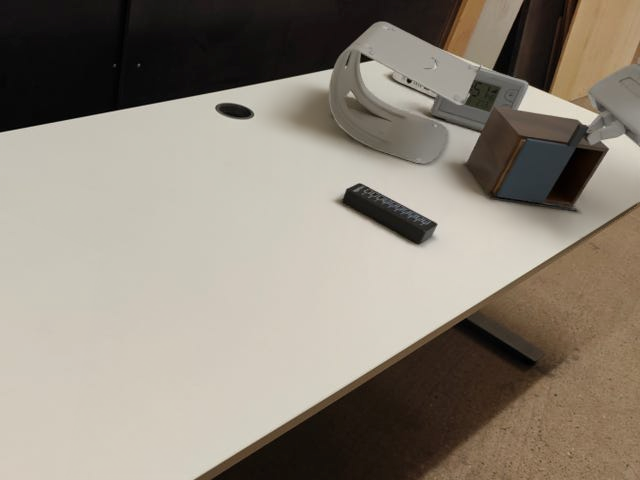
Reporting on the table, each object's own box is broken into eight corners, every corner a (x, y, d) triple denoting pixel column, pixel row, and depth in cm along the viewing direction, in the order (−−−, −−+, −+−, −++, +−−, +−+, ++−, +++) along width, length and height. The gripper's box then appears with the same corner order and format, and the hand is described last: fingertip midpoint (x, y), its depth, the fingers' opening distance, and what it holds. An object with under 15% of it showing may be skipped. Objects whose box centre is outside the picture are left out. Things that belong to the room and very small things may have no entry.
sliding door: (543, 203, 117) (589, 127, 108) (498, 197, 116) (540, 119, 107) (541, 201, 118) (586, 124, 108) (495, 194, 117) (537, 117, 108)
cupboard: (576, 211, 118) (614, 153, 111) (491, 199, 117) (523, 139, 109) (545, 175, 128) (577, 119, 121) (466, 163, 127) (493, 106, 119)
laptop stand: (346, 93, 146) (371, 16, 135) (454, 127, 140) (489, 50, 129) (313, 130, 128) (339, 45, 117) (435, 170, 122) (473, 85, 111)
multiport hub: (419, 245, 101) (425, 231, 99) (340, 201, 108) (345, 189, 106) (432, 236, 104) (438, 223, 102) (355, 194, 110) (360, 182, 109)
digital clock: (424, 114, 143) (446, 63, 135) (437, 105, 148) (459, 55, 141) (499, 143, 137) (525, 91, 130) (509, 131, 143) (535, 81, 136)
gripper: (723, 131, 98) (620, 182, 103) (650, 80, 113) (564, 127, 118) (717, 96, 94) (610, 151, 100) (642, 48, 109) (554, 98, 115)
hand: (585, 138), depth 109 cm, fingers closed
